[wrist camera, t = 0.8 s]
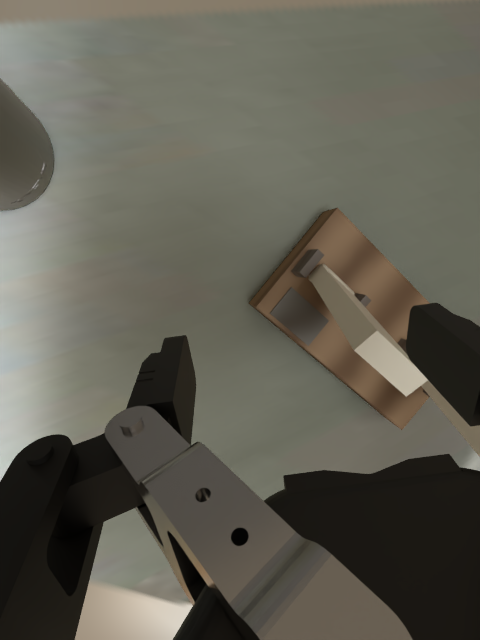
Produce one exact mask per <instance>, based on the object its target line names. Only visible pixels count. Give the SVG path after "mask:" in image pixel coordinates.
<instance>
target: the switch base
mask: <svg viewBox="0 0 480 640" xmlns="http://www.w3.org/2000/svg"><path fill="white" fill-rule="evenodd" d="M320 264H325V265H326V266H327V267H328V268H330V269H331V270H332V271H333V272H334V273H335V274H336V275H337V276H338V277H339V278H340V279H341V280H342V281H343V282H344V283H345V284H346V285H347V286H348V287H349V288H350V289H351V290H353V291H354V295H355V297H356V298H357V299H358V300H359V301H360V302H361V303H362V304H363V306H364V307H365V308H366V309H367V310H368V311H369V312H370V313H371V315H372V316H373V317H374V318H375V319H376V320H377V321H378V322H379V323H380V325H381V326H382V327H383V328H384V329H385V330H386V331H387V332H388V334H389V335H390V336H391V337H392V338H393V339H394V340H395V341H396V343H397V344H398V345H399V346H400V347H401V348H402V349H403V350H404V351H405V353H406V354H407V351H406V339H407V331H408V323H409V315H410V310H411V308H412V307H413V306H415V305H423V304H430V303H429V302H428V301H427V300H426V299H425V298H424V297H423V296H422V295H421V294H420V293H419V292H418V291H417V290H416V289H415V288H414V287H413V285H412V284H411V283H410V282H409V281H408V280H407V279H406V278H405V277H404V276H403V275H402V274H401V273H400V272H399V271H398V270H397V269H396V268H395V267H394V266H393V265H392V264H391V263H390V262H389V261H388V260H387V259H386V258H385V257H384V255H383V254H382V253H381V252H380V251H379V250H378V249H377V248H376V247H375V246H374V245H373V244H372V243H371V242H370V241H369V240H368V239H367V238H366V237H365V236H364V235H363V234H362V233H361V232H360V231H359V230H358V229H357V228H356V226H355V225H354V224H353V223H352V222H351V221H350V220H349V219H348V218H347V217H346V216H345V215H344V214H343V213H342V212H341V211H340V210H339V209H338V208H335V209H332V210H328V211H325V212H323V213H322V214H321V215H320V217H319V218H318V219H317V220H316V222H315V223H314V224H313V225H312V226H311V228H310V229H309V230H308V231H307V233H306V234H305V235H304V236H303V238H302V239H301V240H300V241H299V242H298V244H297V245H296V246H295V247H294V249H293V250H292V251H291V252H290V253H289V255H288V256H287V257H286V258H285V260H284V261H283V262H282V263H281V264H280V266H279V267H278V268H277V269H276V271H275V272H274V273H273V274H272V275H271V277H270V278H269V279H268V280H267V282H266V283H265V284H264V285H263V286H262V288H261V289H260V290H259V291H258V293H257V294H256V295H255V296H254V298H253V299H252V300H251V301H250V302H249V304H250V305H251V306H253V307H254V308H255V309H256V310H257V311H259V312H260V313H261V314H262V315H263V316H265V317H266V318H267V319H268V320H269V321H270V322H272V323H273V324H274V325H275V326H276V327H278V328H279V329H280V330H281V331H282V332H284V333H285V334H286V335H287V336H288V337H290V338H291V339H292V340H293V341H294V342H296V343H297V344H298V345H299V346H300V347H302V348H303V349H304V350H305V351H306V352H308V353H309V354H310V355H311V356H312V357H313V358H315V359H316V360H317V361H318V362H319V363H321V364H322V365H323V366H324V367H325V368H327V369H328V370H329V371H330V372H331V373H333V374H334V375H335V376H336V377H337V378H339V379H340V380H341V381H342V382H343V383H345V384H346V385H347V386H348V387H349V388H350V389H352V390H353V391H354V392H355V393H356V394H358V395H359V396H360V397H361V398H362V399H364V400H365V401H366V402H367V403H368V404H370V405H371V406H372V407H373V408H374V409H376V410H377V411H378V412H379V413H380V414H382V415H383V416H384V417H385V418H386V419H388V420H389V421H390V422H392V423H393V424H395V425H396V426H397V427H399V428H400V429H401V430H402V429H403V428H404V427H405V426H406V425H407V423H408V422H409V421H410V420H411V418H412V417H413V416H414V415H415V414H416V412H417V411H418V410H419V409H420V408H421V406H422V405H423V404H424V403H425V402H426V400H427V399H428V398H429V397H430V396H429V395H428V394H427V392H426V391H425V390H424V389H423V388H422V386H420V387H419V388H417V389H416V390H415V391H413V392H412V393H411V394H409V395H408V396H407V397H406V396H405V395H404V394H403V393H402V392H400V391H399V390H398V389H397V388H396V387H395V386H394V385H393V384H391V383H390V382H389V381H388V380H387V379H386V378H385V377H383V376H382V375H381V374H380V373H379V372H378V371H377V370H376V369H374V368H373V367H372V366H371V365H370V364H369V363H368V362H367V361H365V360H364V359H363V358H362V357H361V356H360V355H359V354H358V353H356V352H355V351H354V350H353V348H352V346H351V345H350V343H349V342H348V340H347V338H346V337H345V335H344V333H343V332H342V330H341V329H340V327H339V325H338V324H337V322H336V320H335V319H334V317H333V316H332V314H331V312H330V311H329V309H328V308H327V306H326V304H325V303H324V301H323V299H322V298H321V296H320V295H319V293H318V291H317V290H316V288H315V287H314V285H313V283H312V282H311V281H309V277H308V276H309V275H310V274H311V273H312V271H313V270H314V269H315V268H316V267H317V266H319V265H320Z"/></svg>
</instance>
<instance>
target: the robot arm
mask: <svg viewBox="0 0 480 640" xmlns="http://www.w3.org/2000/svg"><path fill="white" fill-rule="evenodd" d="M53 165H54V156H53V148H52V145H51V142H50V139H49V136H48V134H47V132H46V130H45V129H44V127H43V125H42V124H41V122H40V121H39V120H38V119H37V118H36V116H35V115H34V114H33V113H32V112H31V111H30V110H29V109H28V108H27V106H26V105H25V104H24V103H23V102H22V101H21V100H20V99H19V98H18V97H17V96H16V95H15V94H14V92H13V91H12V90H11V89H10V88H9V87H8V86H7V85H6V84H5V83H4V82H3V81H2V80H1V79H0V211H3V210H13V209H17V208H20V207H23V206H26V205H27V204H29V203H31V202H33V201H34V200H36V199H37V198H38V197H39V196H40V195H41V194H42V193H43V192H44V190H45V189H46V187H47V185H48V184H49V182H50V179H51V176H52V173H53ZM406 351H407V355H408V357H409V359H410V361H411V362H412V363H413V364H414V365H415V366H416V367H417V368H418V370H419V371H420V372H421V373H422V374H423V375H424V376H425V377H426V378H427V379H428V381H429V382H430V383H431V384H432V385H433V386H434V387H435V388H436V389H437V391H438V392H439V393H440V394H441V395H442V396H443V397H444V398H445V399H446V400H447V402H448V403H449V404H450V405H451V406H452V407H453V408H454V409H455V410H456V411H457V413H458V414H459V415H460V416H461V417H462V418H463V419H464V420H465V421H466V422H467V424H468V425H469V426H470V427H471V426H478V425H480V327H479V326H478V325H476V324H475V323H473V322H472V321H470V320H468V319H465V318H463V317H460V316H457V315H455V314H453V313H451V312H450V311H448V310H447V309H445V308H444V307H443V306H441V305H440V304H438V303H430V304H423V305H415V306H413V307H412V308H411V310H410V315H409V323H408V331H407V339H406ZM195 393H196V378H195V371H194V367H193V362H192V358H191V353H190V349H189V344H188V340H187V337H186V335H184V336H176V337H169V338H165V339H164V341H163V345H162V348H161V352H160V353H152V354H150V355H149V357H148V358H147V359H146V360H145V361H144V362H143V363H142V365H141V368H140V371H139V374H138V377H137V380H136V383H135V385H134V388H133V391H132V394H131V397H130V399H129V402H128V405H127V408H126V410H123V411H121V412H120V413H118V414H117V415H116V416H114V417H113V418H112V419H111V420H110V421H109V423H108V424H107V426H106V428H105V433H104V434H102V435H100V436H97V437H95V438H92V439H89V440H87V441H84V442H81V443H78V444H76V445H73V444H72V442H71V440H70V439H69V438H68V437H67V436H65V435H50V436H46V437H43V438H41V439H38V440H36V441H34V442H33V443H31V444H29V445H28V446H27V447H25V448H24V449H23V450H22V451H21V452H19V453H18V455H17V456H16V457H15V458H14V460H13V461H12V463H11V465H10V466H9V468H8V470H7V471H6V473H5V475H4V476H3V478H2V480H1V482H0V640H75V636H76V631H77V627H78V623H79V619H80V615H81V611H82V607H83V603H84V599H85V595H86V591H87V587H88V583H89V579H90V575H91V571H92V567H93V563H94V559H95V555H96V551H97V547H98V542H99V538H100V534H101V530H102V526H103V522H104V521H106V520H108V519H111V518H113V517H115V516H117V515H120V514H122V513H124V512H127V511H129V510H131V509H133V508H135V509H136V511H137V512H138V514H139V515H140V517H141V519H142V520H143V522H144V523H145V525H146V527H147V528H148V530H149V531H150V533H151V534H152V536H153V538H154V539H155V541H156V542H157V544H158V546H159V547H160V549H161V550H162V552H163V553H164V555H165V557H166V558H167V560H168V562H169V564H170V566H171V568H172V570H173V572H174V574H175V576H176V578H177V580H178V581H179V583H180V585H181V587H182V589H183V590H184V592H185V594H186V595H187V597H188V598H189V600H190V602H191V603H192V605H193V607H192V609H191V610H190V612H189V614H188V615H187V617H186V619H185V620H184V622H183V624H182V625H181V627H180V629H179V630H178V632H177V634H176V635H175V637H174V638H173V640H480V471H477V470H472V469H467V468H459V466H458V465H457V464H456V462H455V461H454V460H453V458H452V457H451V456H450V454H444V455H437V456H429V457H421V458H414V459H408V460H405V461H403V462H400V463H398V464H395V465H393V466H390V467H388V468H385V469H383V470H381V471H378V472H376V473H373V474H360V473H349V472H338V471H327V470H322V471H314V472H307V473H299V474H292V475H284V487H285V489H284V490H282V491H279V492H277V493H275V494H273V495H272V496H270V497H268V498H267V499H266V500H264V501H263V500H262V499H261V498H260V497H259V496H258V495H256V494H255V493H254V492H253V491H252V490H251V489H250V488H249V487H248V486H247V485H246V484H245V483H244V482H243V481H242V480H241V479H240V478H239V477H238V476H236V475H235V474H234V473H233V472H232V471H231V470H230V469H229V468H228V467H227V466H226V465H225V464H224V463H223V462H222V461H221V460H220V459H219V458H218V457H216V456H215V455H214V454H213V453H212V452H211V451H210V450H209V449H208V448H207V447H206V446H205V445H204V444H202V443H200V442H196V443H194V444H193V445H191V437H192V426H193V415H194V404H195Z"/></svg>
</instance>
